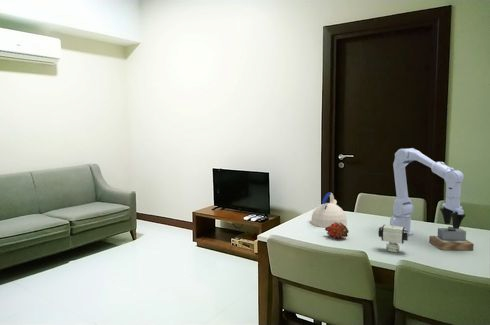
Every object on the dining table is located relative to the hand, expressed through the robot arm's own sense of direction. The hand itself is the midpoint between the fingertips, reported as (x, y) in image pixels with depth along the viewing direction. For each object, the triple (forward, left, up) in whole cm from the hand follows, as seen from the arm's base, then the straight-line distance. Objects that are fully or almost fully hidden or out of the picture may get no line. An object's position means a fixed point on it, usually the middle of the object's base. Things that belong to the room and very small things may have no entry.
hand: (451, 226), depth 158 cm
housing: (0, 0, -6) cm, 6 cm away
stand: (0, 0, -9) cm, 9 cm away
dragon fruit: (-50, +10, -10) cm, 52 cm away
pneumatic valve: (-29, -8, -10) cm, 32 cm away
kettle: (-49, +37, -10) cm, 62 cm away
